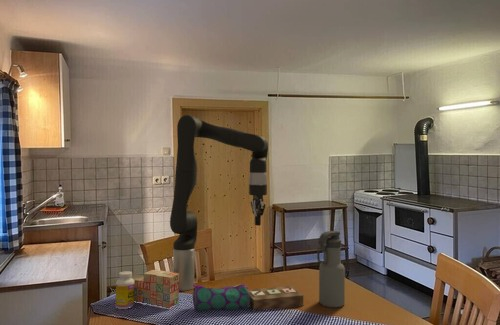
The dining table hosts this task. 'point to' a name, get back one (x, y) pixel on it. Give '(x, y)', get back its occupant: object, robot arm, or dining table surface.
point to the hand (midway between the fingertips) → (257, 225)
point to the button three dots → (257, 293)
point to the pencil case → (221, 298)
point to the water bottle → (331, 271)
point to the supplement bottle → (125, 290)
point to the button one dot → (273, 292)
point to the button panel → (275, 299)
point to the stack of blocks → (157, 288)
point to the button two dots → (288, 290)
